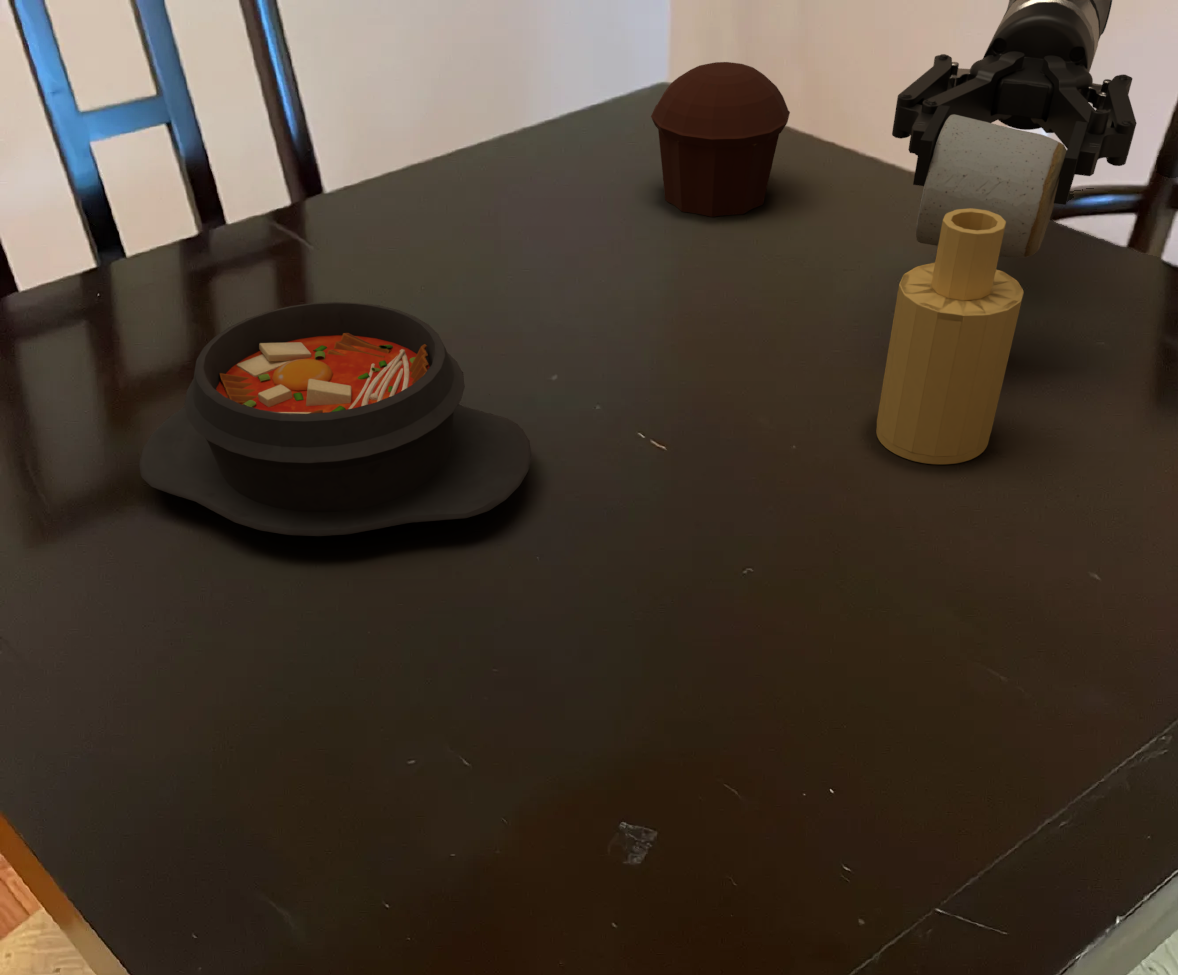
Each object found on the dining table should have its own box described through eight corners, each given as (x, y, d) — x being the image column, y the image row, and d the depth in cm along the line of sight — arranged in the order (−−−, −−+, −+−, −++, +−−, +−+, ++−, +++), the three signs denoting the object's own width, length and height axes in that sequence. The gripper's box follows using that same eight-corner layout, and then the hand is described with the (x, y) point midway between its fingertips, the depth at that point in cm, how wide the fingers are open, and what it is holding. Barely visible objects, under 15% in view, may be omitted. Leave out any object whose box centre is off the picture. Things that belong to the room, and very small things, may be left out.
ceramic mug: (1032, 280, 87) (1064, 153, 81) (908, 260, 89) (930, 135, 83) (1055, 219, 94) (1085, 99, 88) (938, 202, 96) (960, 83, 90)
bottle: (995, 418, 91) (1045, 205, 81) (979, 473, 86) (1029, 254, 76) (888, 400, 93) (923, 189, 83) (865, 453, 88) (900, 236, 78)
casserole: (558, 423, 91) (555, 301, 85) (496, 583, 79) (487, 454, 72) (210, 392, 94) (182, 273, 88) (97, 541, 82) (56, 415, 76)
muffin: (691, 233, 112) (697, 102, 105) (625, 187, 119) (627, 62, 111) (808, 204, 116) (822, 76, 108) (737, 162, 122) (746, 39, 115)
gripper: (1171, 131, 99) (1148, 256, 84) (889, 98, 104) (821, 211, 89) (1205, 15, 93) (1187, 128, 79) (906, -14, 98) (836, 87, 84)
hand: (993, 172), depth 84 cm, fingers closed on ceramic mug, 8 cm apart
